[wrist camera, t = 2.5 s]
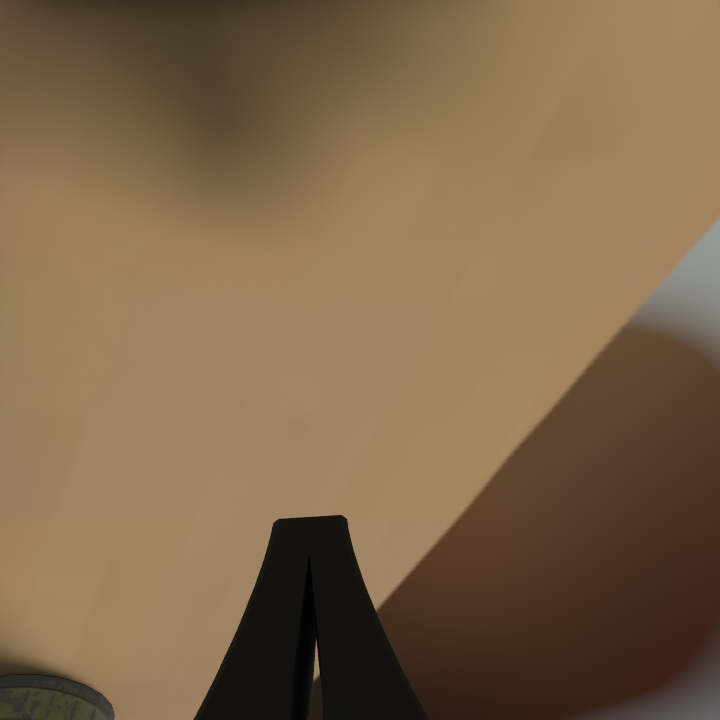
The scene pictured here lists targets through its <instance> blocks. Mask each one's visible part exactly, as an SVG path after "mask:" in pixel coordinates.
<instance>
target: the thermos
mask: <svg viewBox="0 0 720 720" xmlns="http://www.w3.org/2000/svg"><path fill="white" fill-rule="evenodd" d="M114 717H115V716H114V712H113V708H112V705H111V704H110V703H109V702H108V701H107V700H106V699H105V698H104V697H103V696H102V695H101V694H99V693H98V692H96V691H94V690H92V689H90V688H89V687H87V686H85V685H82V684H79V683H76V682H73V681H69V680H66V679H63V678H58V677H50V676H43V675H35V674H34V675H7V676H2V677H0V720H114Z"/></svg>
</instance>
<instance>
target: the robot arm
mask: <svg viewBox="0 0 720 720" xmlns="http://www.w3.org/2000/svg"><path fill="white" fill-rule="evenodd" d="M316 640H317V649H318V659H319V669H320V679H321V689H322V699H323V720H429V719H428V717H427V715H426V713H425V712H424V710H423V708H422V706H421V704H420V703H419V701H418V699H417V697H416V695H415V693H414V691H413V689H412V688H411V686H410V684H409V682H408V680H407V678H406V676H405V674H404V672H403V670H402V668H401V666H400V664H399V662H398V660H397V658H396V656H395V653H394V651H393V649H392V647H391V645H390V643H389V641H388V639H387V636H386V634H385V632H384V630H383V628H382V625H381V623H380V621H379V618H378V616H377V613H376V611H375V608H374V606H373V604H372V601H371V599H370V596H369V594H368V591H367V589H366V586H365V583H364V581H363V578H362V575H361V572H360V569H359V566H358V563H357V560H356V557H355V553H354V550H353V546H352V542H351V538H350V534H349V529H348V523H347V519H346V518H345V517H343V516H342V515H334V516H318V517H302V518H286V519H278V520H277V521H276V522H274V523H273V527H272V532H271V536H270V540H269V544H268V547H267V551H266V554H265V558H264V561H263V564H262V567H261V570H260V572H259V575H258V578H257V581H256V584H255V587H254V589H253V592H252V594H251V597H250V599H249V602H248V604H247V607H246V609H245V612H244V614H243V617H242V619H241V622H240V624H239V627H238V629H237V631H236V634H235V636H234V638H233V640H232V642H231V644H230V647H229V649H228V651H227V653H226V655H225V657H224V660H223V662H222V664H221V666H220V668H219V670H218V672H217V675H216V677H215V679H214V681H213V683H212V685H211V687H210V689H209V691H208V693H207V695H206V697H205V699H204V701H203V703H202V705H201V706H200V708H199V710H198V712H197V714H196V716H195V718H194V720H310V719H311V705H312V691H313V676H314V662H315V647H316Z"/></svg>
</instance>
